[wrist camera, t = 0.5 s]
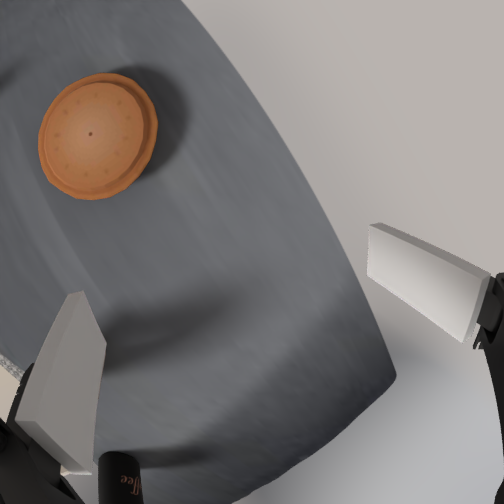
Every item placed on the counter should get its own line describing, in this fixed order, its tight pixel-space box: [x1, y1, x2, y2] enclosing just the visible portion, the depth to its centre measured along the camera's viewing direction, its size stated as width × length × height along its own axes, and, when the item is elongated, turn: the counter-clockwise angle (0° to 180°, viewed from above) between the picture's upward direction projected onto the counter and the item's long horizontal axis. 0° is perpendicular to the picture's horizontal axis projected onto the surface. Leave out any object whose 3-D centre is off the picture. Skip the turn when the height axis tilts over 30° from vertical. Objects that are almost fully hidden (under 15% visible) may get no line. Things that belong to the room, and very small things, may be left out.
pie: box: [38, 73, 158, 200], centre depth 27 cm, size 16×16×5 cm
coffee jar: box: [98, 452, 144, 504], centre depth 41 cm, size 11×11×18 cm
